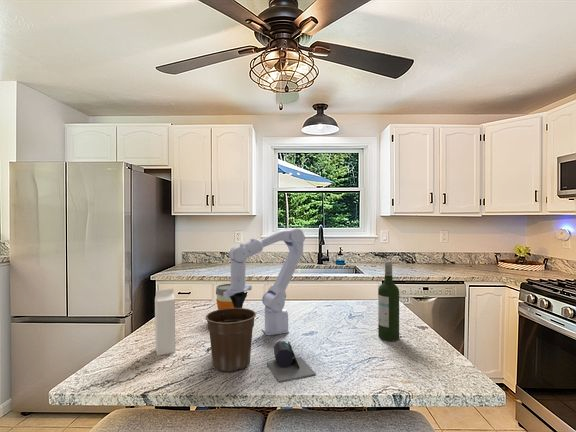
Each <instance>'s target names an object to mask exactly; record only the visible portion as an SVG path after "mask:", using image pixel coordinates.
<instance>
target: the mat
mask: <svg viewBox="0 0 576 432" xmlns="http://www.w3.org/2000/svg"><path fill="white" fill-rule="evenodd" d="M296 360H297V363H298V365H299V369H298V366H297V364H296V361H295V359H294V357H293V362H292V363H291V365H290V366H288V367H281V366H279V365H278V364H277V363H276V361H271V362H267V363H266V365H267V367H268V368H269V370H270V371H271V373H272V374H273V377H275V379H276V381H277V382H278V383H282V382H287V381H292V380H297V379H302V378H307V377H312V376H313V377H314V376H316V375H317V372H315V371H314V370H313V369H312V367H311V366H310V365H309V364H308V363H307V362H306V360H304V359H303V358H302V357H301V356H300V357H296Z"/></svg>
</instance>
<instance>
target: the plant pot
mask: <svg viewBox="0 0 576 432" xmlns="http://www.w3.org/2000/svg"><path fill="white" fill-rule="evenodd" d="M256 316H257V313H256V311H255V310H253V309H249V308H244V307H242V308H226V309H220V310H218V309H217V310H213V311H211V312H209V313H207V314H205V320H206V322H207V328H208V331H209V339H210V340H209V341H210V352H211V361H212V364H211V365H212V367H213V368H214V369H215V370H216V371H220V372H226V373H227V372H228V373H229V372H237V371H238V370H239V369H240V370H243V369H245V368H247V367H248V366H249V365H250V363H251V355H252V354H251V353H252V342H253V340H252V339H253V331H254V330H253V329H254V326H255V318H256Z"/></svg>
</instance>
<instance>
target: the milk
mask: <svg viewBox="0 0 576 432" xmlns="http://www.w3.org/2000/svg"><path fill="white" fill-rule="evenodd" d="M154 332H155V333H154V337H155V338H154V339H155V340H154V342H155V344H154V346H155V348H154V349H155V352H156V354H157V356H158V357H159V356H163V355H168V354H173V353H176V298H175V294H174V289H173V288H168V289H158V290H155V296H154Z"/></svg>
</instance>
